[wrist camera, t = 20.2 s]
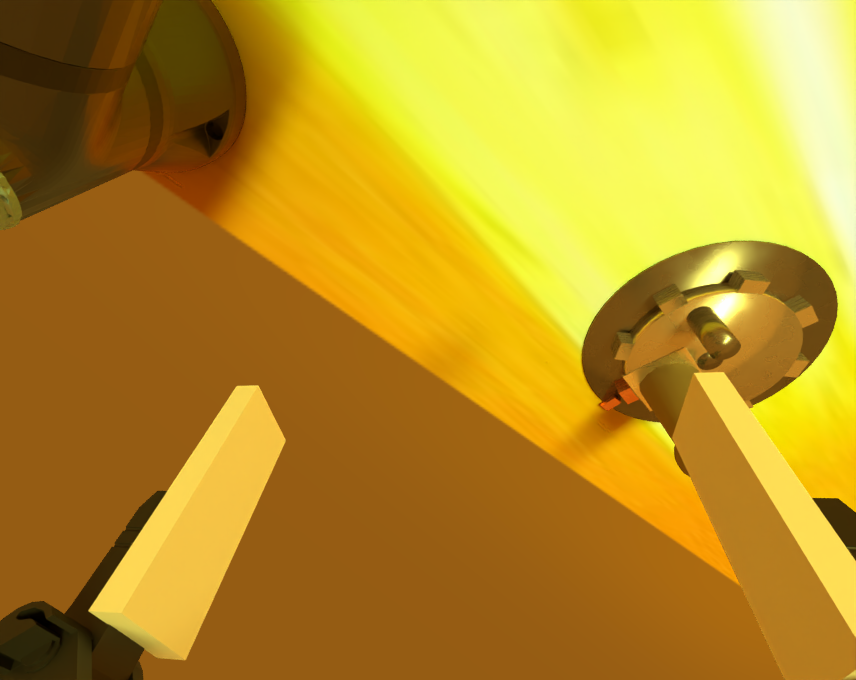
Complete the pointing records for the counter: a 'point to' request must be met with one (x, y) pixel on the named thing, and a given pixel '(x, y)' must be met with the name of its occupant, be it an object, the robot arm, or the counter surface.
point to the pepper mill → (668, 396)
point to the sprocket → (718, 335)
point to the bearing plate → (700, 268)
